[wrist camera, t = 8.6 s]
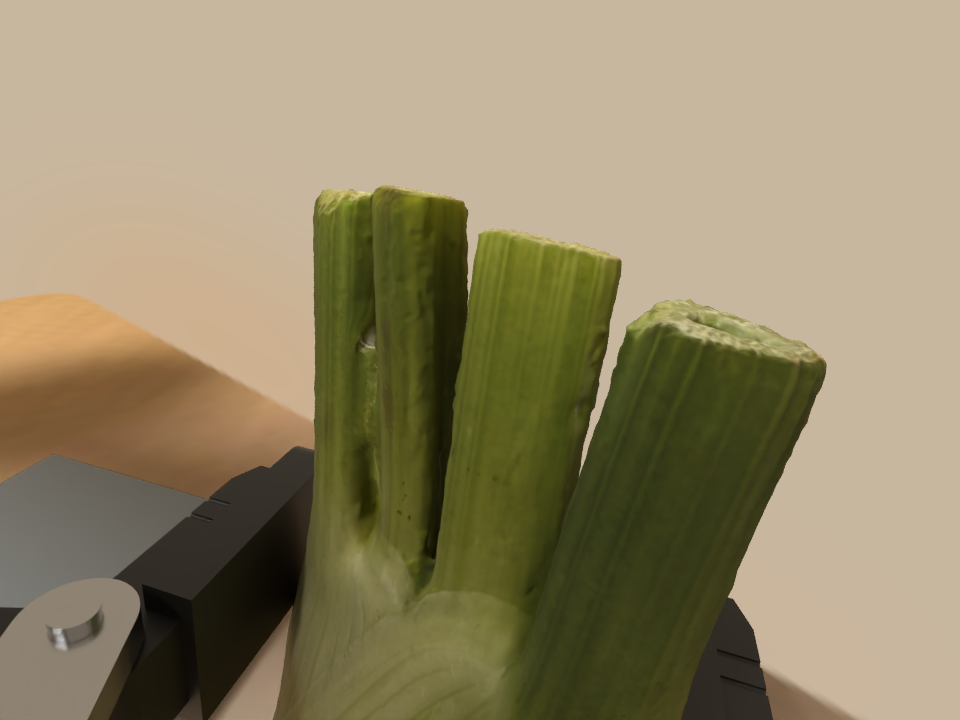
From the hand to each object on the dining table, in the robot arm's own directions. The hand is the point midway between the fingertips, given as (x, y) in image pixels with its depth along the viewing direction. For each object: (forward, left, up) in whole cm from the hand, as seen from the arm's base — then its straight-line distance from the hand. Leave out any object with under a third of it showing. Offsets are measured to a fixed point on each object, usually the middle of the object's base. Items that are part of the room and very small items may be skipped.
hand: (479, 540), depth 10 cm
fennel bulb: (0, -3, -6) cm, 7 cm away
